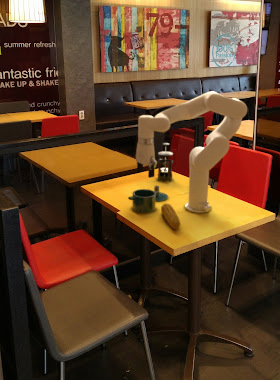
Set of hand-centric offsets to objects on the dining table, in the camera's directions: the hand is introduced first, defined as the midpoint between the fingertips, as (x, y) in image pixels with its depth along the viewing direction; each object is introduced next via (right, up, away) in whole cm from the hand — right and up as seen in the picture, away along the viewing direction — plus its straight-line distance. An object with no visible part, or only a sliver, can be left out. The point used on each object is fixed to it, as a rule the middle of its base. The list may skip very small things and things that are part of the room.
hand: (145, 174), depth 195 cm
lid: (+6, -14, +17) cm, 23 cm away
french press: (+12, -8, +48) cm, 50 cm away
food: (+12, -21, -11) cm, 27 cm away
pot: (-1, -18, +3) cm, 18 cm away
